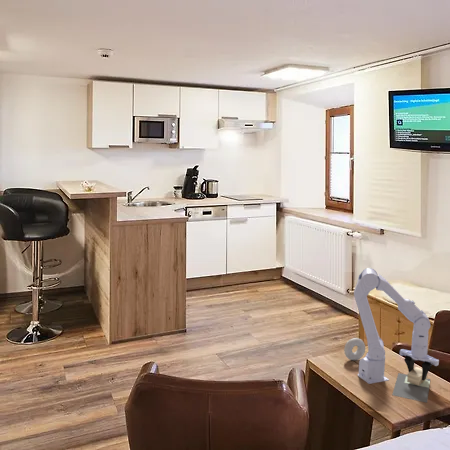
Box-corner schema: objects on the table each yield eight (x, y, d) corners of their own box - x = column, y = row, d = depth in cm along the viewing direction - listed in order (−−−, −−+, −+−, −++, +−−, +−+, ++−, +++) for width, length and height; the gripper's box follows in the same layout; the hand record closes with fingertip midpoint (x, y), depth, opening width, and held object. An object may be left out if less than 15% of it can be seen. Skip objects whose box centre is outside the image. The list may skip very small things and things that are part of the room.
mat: (427, 403, 171) (427, 402, 171) (392, 396, 176) (392, 394, 176) (430, 380, 189) (430, 378, 189) (398, 373, 194) (398, 372, 194)
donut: (361, 357, 210) (363, 335, 208) (366, 360, 207) (367, 338, 205) (342, 359, 207) (343, 338, 205) (346, 363, 204) (347, 341, 202)
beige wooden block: (418, 385, 182) (419, 377, 181) (407, 381, 185) (407, 373, 184) (427, 378, 187) (427, 370, 187) (415, 374, 190) (416, 366, 190)
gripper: (397, 341, 186) (395, 374, 188) (434, 352, 176) (432, 387, 178) (404, 336, 191) (402, 368, 193) (442, 347, 181) (439, 380, 183)
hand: (417, 377), depth 186 cm, fingers closed on beige wooden block, 4 cm apart
